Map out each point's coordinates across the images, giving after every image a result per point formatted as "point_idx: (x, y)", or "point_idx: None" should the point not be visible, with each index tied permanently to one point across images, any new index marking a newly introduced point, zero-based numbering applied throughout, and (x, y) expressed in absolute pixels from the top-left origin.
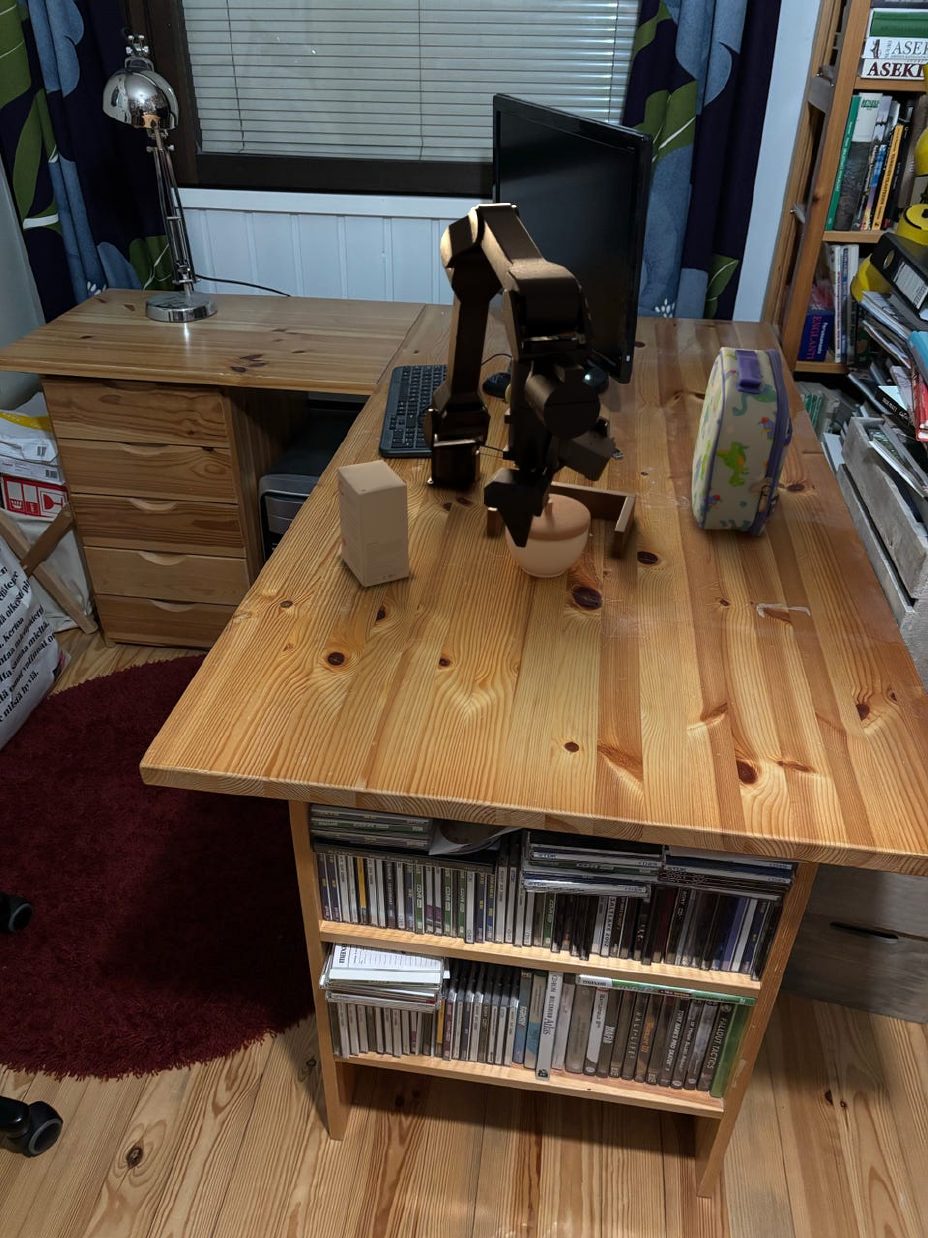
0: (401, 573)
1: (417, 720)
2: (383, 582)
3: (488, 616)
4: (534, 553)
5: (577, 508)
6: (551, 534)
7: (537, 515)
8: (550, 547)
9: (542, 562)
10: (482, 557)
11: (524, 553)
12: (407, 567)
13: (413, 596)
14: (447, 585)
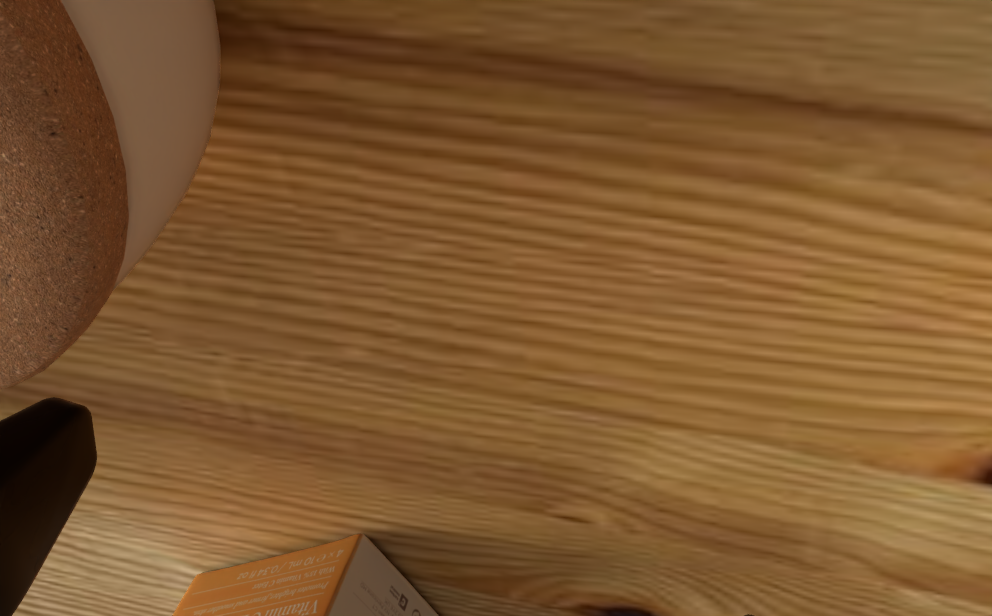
0: (376, 572)
1: None
2: (423, 600)
3: (628, 278)
4: (185, 142)
5: None
6: (62, 114)
7: (85, 437)
8: (135, 60)
9: (207, 54)
10: None
11: (182, 190)
12: (352, 572)
13: (494, 525)
14: (389, 417)
